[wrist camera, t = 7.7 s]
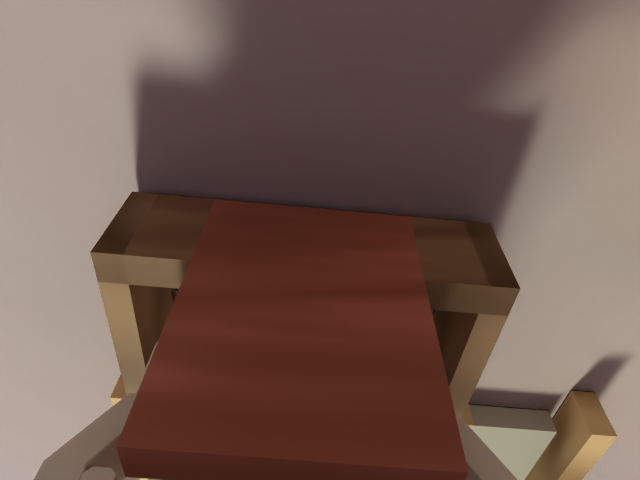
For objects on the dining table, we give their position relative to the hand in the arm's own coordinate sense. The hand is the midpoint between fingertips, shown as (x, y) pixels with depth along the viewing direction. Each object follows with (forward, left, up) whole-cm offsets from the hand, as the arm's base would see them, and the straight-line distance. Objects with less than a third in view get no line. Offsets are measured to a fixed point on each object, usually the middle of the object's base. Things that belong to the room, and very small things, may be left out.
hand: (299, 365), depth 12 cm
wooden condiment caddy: (+9, 0, -4) cm, 10 cm away
